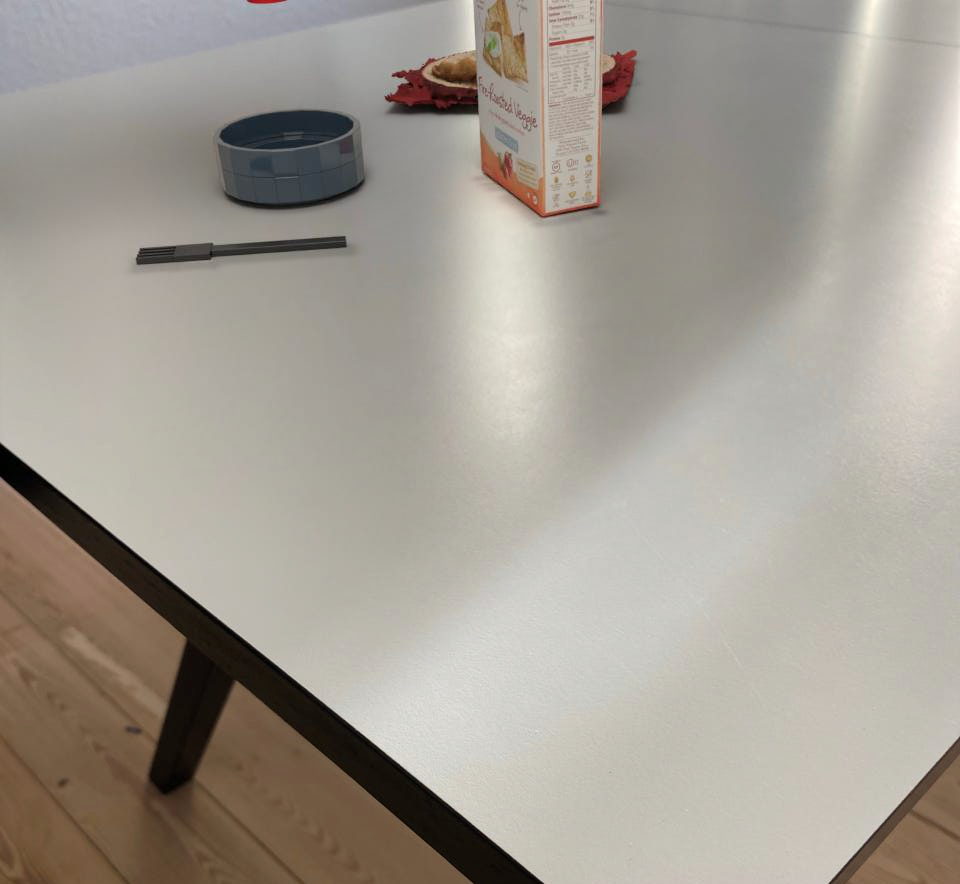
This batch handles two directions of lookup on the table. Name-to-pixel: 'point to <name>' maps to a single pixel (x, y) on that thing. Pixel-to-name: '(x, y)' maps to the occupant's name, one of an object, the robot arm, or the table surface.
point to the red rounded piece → (264, 1)
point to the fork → (231, 249)
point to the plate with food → (459, 80)
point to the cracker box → (541, 99)
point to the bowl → (290, 156)
